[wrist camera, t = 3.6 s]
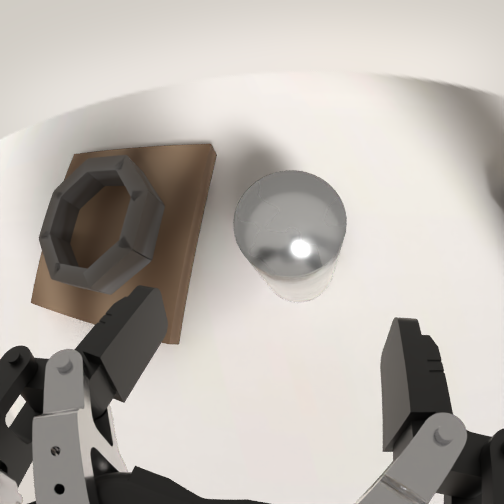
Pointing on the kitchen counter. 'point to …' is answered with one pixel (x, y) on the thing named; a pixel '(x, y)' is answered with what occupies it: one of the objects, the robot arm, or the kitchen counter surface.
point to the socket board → (124, 230)
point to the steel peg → (291, 232)
